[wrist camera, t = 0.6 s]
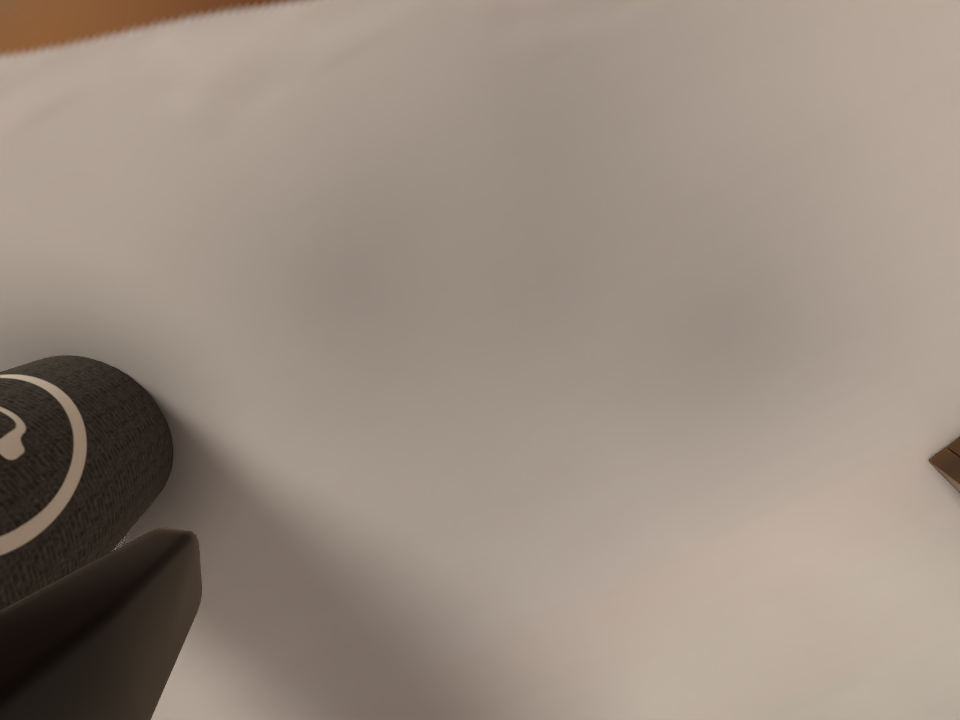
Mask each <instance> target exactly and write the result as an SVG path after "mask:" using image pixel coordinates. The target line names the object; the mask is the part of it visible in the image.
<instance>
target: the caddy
mask: <svg viewBox="0 0 960 720" xmlns="http://www.w3.org/2000/svg"><path fill="white" fill-rule="evenodd" d="M929 461H930V463H931V464H932V465H933V466H934V467H935V468H936V469H937V470H938V471H939V472H940V473H941V474H942V475H943V476H944V477H945V478H946V479H947V480H948V481H949V482H950V483H951V484H952V485H953V486H954V487H955V488H956V489H957V490H958V491H959V492H960V437H959V438H958V439H957V440H955V441H954V442H953V443H951V444H950V445H949V446H948V449H947V448H944V449H943V450H942V451H940V452H939V453H937V454H936V455H935V456H933V457H932V458H931V459H930V460H929Z"/></svg>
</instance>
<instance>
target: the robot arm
mask: <svg viewBox="0 0 960 720" xmlns="http://www.w3.org/2000/svg"><path fill="white" fill-rule="evenodd" d="M201 596H202V579H201V565H200V550H199V542H198V538H197V536H196V535H195V534H194V533H192V532H190V531H184V530H177V529H169V528H157V529H154V530H152V531H150V532H148V533H146V534H144V535H142V536H141V537H139V538H137V539H135V540H133V541H131V542H129V543H127V544H125V545H124V546H122V547H120V548H118V549H116V550H114V551H112V552H110V553H108V554H107V555H105V556H103V557H101V558H99V559H97V560H95V561H93V562H91V563H90V564H88V565H86V566H84V567H82V568H80V569H78V570H76V571H75V572H73V573H71V574H69V575H67V576H65V577H63V578H61V579H59V580H58V581H56V582H54V583H52V584H50V585H48V586H46V587H44V588H42V589H41V590H39V591H37V592H35V593H33V594H31V595H29V596H27V597H25V598H24V599H22V600H20V601H18V602H16V603H14V604H12V605H10V606H8V607H7V608H5V609H3V610H1V611H0V720H151V718H152V715H153V713H154V711H155V708H156V706H157V704H158V701H159V699H160V697H161V695H162V692H163V690H164V688H165V685H166V683H167V681H168V678H169V676H170V674H171V671H172V669H173V667H174V664H175V662H176V660H177V658H178V655H179V653H180V651H181V648H182V646H183V644H184V641H185V639H186V637H187V634H188V632H189V630H190V627H191V625H192V623H193V621H194V618H195V616H196V614H197V611H198V608H199V605H200V601H201Z"/></svg>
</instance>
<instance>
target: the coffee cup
mask: <svg viewBox="0 0 960 720" xmlns="http://www.w3.org/2000/svg"><path fill="white" fill-rule="evenodd" d="M172 456H173V453H172V442H171V437H170V433H169V430H168V427H167V424H166V422H165V420H164V418H163V416H162V414H161V412H160V410H159V409H158V407H157V406H156V404H155V403H154V401H153V400H152V399H151V397H150V396H149V395H148V394H147V393H146V392H145V391H144V390H143V389H142V388H141V387H140V386H139V385H138V384H137V383H136V382H135V381H133V380H132V379H131V378H129V377H128V376H127V375H125V374H124V373H122V372H120V371H119V370H117V369H115V368H113V367H111V366H109V365H107V364H104V363H102V362H99V361H96V360H93V359H89V358H84V357H78V356H54V357H49V358H44V359H41V360H37V361H34V362H31V363H28V364H25V365H21V366H18V367H15V368H12V369H9V370H6V371H2V372H0V611H1V610H3V609H5V608H7V607H8V606H10V605H12V604H14V603H16V602H18V601H20V600H22V599H24V598H25V597H27V596H29V595H31V594H33V593H35V592H37V591H39V590H41V589H42V588H44V587H46V586H48V585H50V584H52V583H54V582H56V581H58V580H59V579H61V578H63V577H65V576H67V575H69V574H71V573H73V572H75V571H76V570H78V569H80V568H82V567H84V566H86V565H88V564H90V563H91V562H93V561H95V560H97V559H99V558H101V557H103V556H105V555H107V554H108V553H110V552H111V551H112V550H113V549H114V548H115V547H116V545H117V544H118V543H119V542H120V541H121V539H122V538H123V537H124V536H125V535H126V533H127V532H128V531H129V530H130V529H131V527H132V526H133V525H134V524H135V522H136V521H137V520H138V519H139V518H140V516H141V515H142V514H143V513H144V512H145V510H146V509H147V508H148V507H149V506H150V504H151V503H152V502H153V501H154V499H155V498H156V497H157V496H158V494H159V493H160V492H161V490H162V489H163V487H164V486H165V484H166V482H167V480H168V477H169V474H170V471H171V466H172Z"/></svg>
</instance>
